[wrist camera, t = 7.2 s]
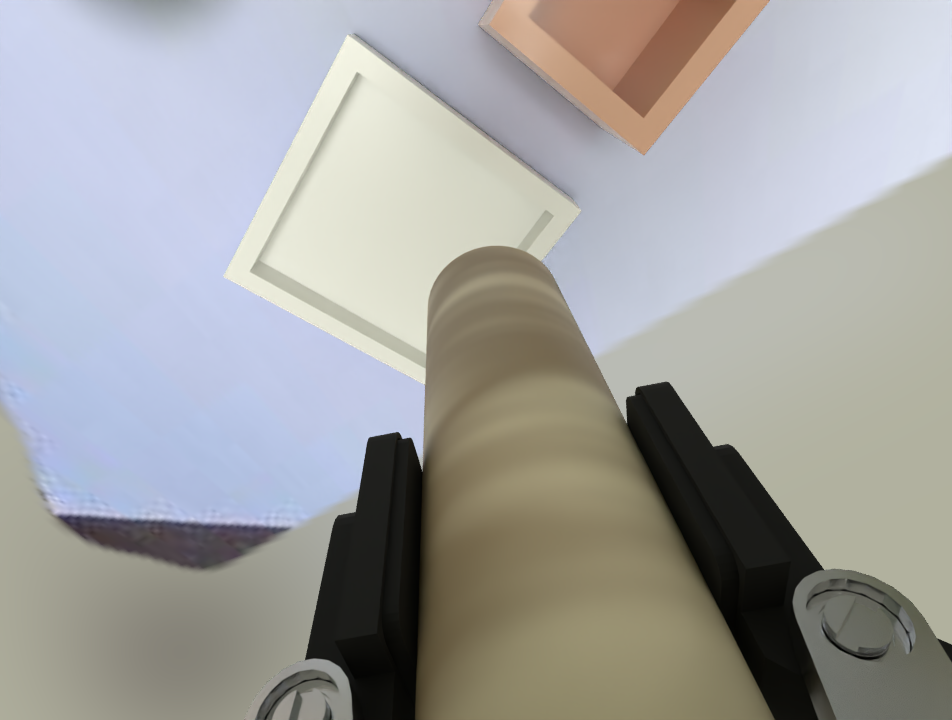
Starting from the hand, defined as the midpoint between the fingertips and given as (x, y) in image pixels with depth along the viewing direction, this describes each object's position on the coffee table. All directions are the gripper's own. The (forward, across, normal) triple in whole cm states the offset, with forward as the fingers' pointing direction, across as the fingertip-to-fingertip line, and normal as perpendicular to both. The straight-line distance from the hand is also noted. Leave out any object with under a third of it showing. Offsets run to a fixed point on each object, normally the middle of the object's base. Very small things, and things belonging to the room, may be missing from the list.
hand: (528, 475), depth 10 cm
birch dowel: (+7, 0, 0) cm, 7 cm away
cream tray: (+28, +5, +3) cm, 29 cm away
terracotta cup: (+28, -9, -7) cm, 30 cm away
